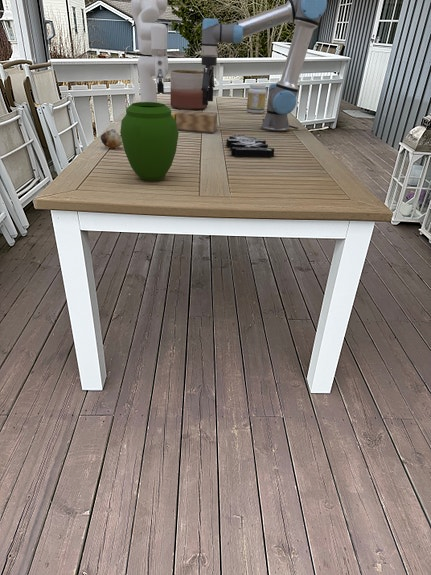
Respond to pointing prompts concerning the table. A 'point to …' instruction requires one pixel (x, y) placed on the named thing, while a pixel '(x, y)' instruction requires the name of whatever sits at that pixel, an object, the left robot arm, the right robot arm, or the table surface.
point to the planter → (187, 89)
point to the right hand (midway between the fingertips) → (207, 103)
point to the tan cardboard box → (196, 121)
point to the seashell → (111, 139)
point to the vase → (149, 139)
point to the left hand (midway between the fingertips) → (160, 91)
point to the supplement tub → (256, 98)
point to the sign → (248, 147)
